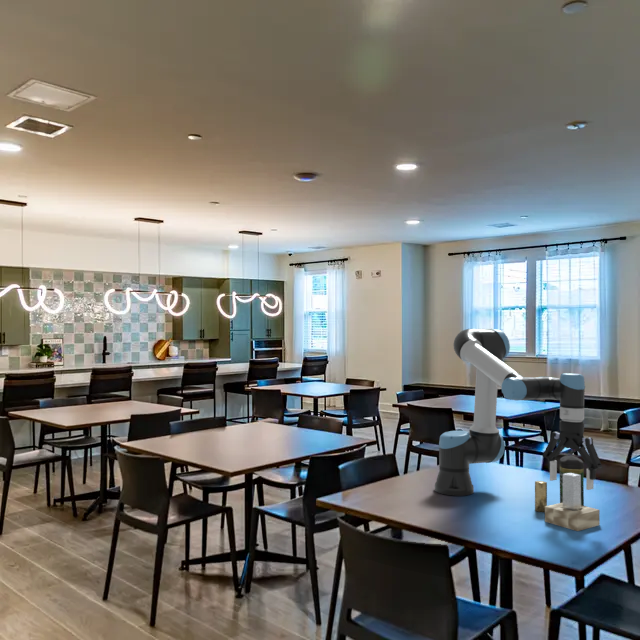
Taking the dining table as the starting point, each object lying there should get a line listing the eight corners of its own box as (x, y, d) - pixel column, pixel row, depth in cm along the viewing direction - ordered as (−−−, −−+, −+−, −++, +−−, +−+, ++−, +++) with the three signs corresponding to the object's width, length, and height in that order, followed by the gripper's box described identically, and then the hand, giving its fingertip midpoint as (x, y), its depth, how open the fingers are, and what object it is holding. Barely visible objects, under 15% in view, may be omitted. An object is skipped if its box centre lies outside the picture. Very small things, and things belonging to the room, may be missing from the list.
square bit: (562, 516, 203) (562, 474, 204) (570, 514, 206) (569, 472, 206) (573, 519, 200) (573, 476, 200) (580, 517, 202) (580, 474, 203)
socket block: (544, 521, 204) (544, 506, 205) (566, 516, 211) (566, 501, 211) (577, 531, 194) (577, 515, 195) (599, 525, 201) (599, 509, 201)
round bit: (532, 510, 218) (532, 481, 218) (539, 508, 220) (539, 480, 221) (542, 513, 215) (542, 484, 215) (549, 511, 217) (549, 482, 217)
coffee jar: (558, 504, 226) (558, 453, 227) (581, 506, 224) (581, 454, 225) (561, 511, 217) (561, 458, 218) (585, 513, 215) (585, 459, 216)
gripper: (532, 416, 212) (532, 477, 212) (600, 426, 191) (599, 494, 191) (546, 414, 216) (545, 475, 216) (614, 424, 195) (613, 491, 195)
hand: (571, 484), depth 204 cm, fingers open, 13 cm apart
